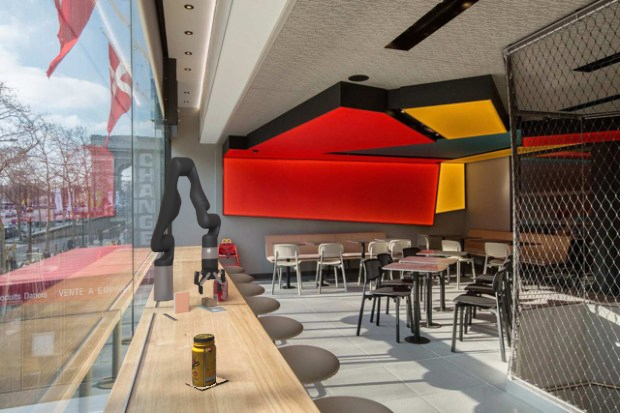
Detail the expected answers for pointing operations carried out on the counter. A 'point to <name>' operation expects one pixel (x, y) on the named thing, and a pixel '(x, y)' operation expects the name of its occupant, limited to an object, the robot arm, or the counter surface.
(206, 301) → the brown long block
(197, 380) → the condiment
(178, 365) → the counter surface
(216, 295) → the soda can
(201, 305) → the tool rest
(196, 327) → the counter surface
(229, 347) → the counter surface
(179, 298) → the tile
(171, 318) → the mat
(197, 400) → the counter surface
